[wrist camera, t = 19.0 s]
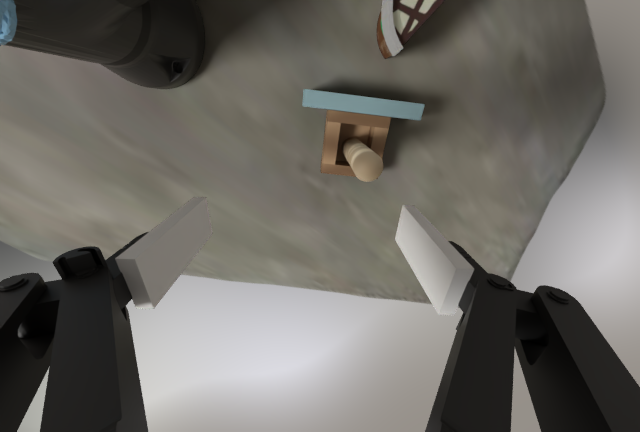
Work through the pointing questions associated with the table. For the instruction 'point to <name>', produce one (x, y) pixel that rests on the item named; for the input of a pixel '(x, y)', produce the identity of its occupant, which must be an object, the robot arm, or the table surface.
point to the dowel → (362, 160)
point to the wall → (362, 104)
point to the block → (346, 126)
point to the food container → (401, 22)
